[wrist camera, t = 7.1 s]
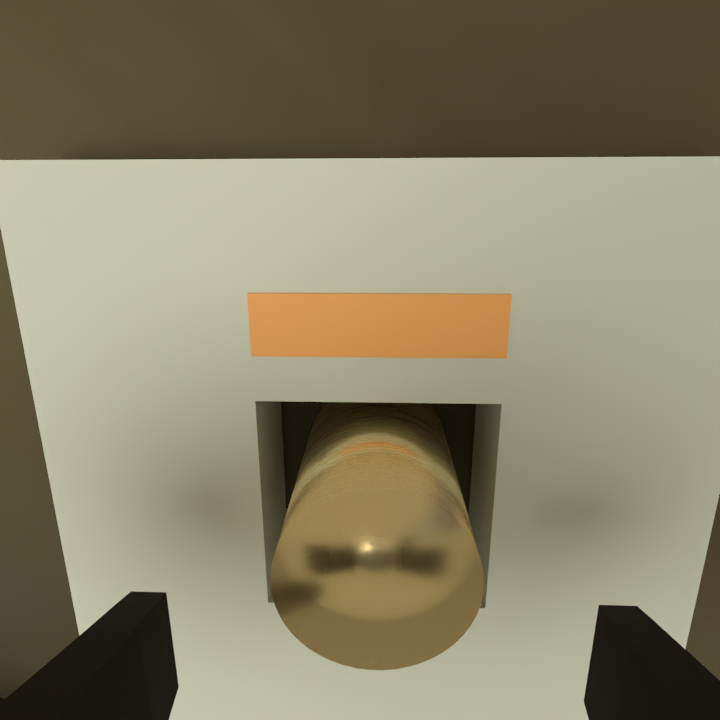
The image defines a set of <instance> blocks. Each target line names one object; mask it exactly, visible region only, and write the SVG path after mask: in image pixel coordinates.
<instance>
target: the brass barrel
mask: <svg viewBox="0 0 720 720" xmlns="http://www.w3.org/2000/svg"><path fill="white" fill-rule="evenodd" d="M270 583H271V592H272V597H273V601H274V604H275V607H276V609H277V612H278V614H279V616H280V617H281V619H282V621H283V623H284V624H285V625H286V627H287V628H288V629H289V631H290V632H291V633H292V634H293V635H294V636H295V637H296V638H297V639H298V640H299V641H300V642H301V643H302V644H304V645H305V646H306V647H307V648H309V649H310V650H312V651H313V652H315V653H317V654H318V655H320V656H322V657H324V658H326V659H328V660H330V661H333V662H336V663H339V664H342V665H345V666H349V667H353V668H358V669H366V670H392V669H400V668H405V667H410V666H413V665H416V664H420V663H423V662H425V661H427V660H430V659H432V658H434V657H436V656H437V655H439V654H441V653H443V652H444V651H446V650H447V649H448V648H450V647H451V646H452V645H454V644H455V643H456V642H457V641H458V640H459V639H460V638H461V637H462V636H463V635H464V634H465V633H466V631H467V630H468V629H469V627H470V626H471V624H472V623H473V621H474V619H475V618H476V616H477V613H478V611H479V608H480V606H481V602H482V598H483V592H484V574H483V567H482V563H481V560H480V556H479V552H478V549H477V545H476V542H475V538H474V535H473V531H472V528H471V524H470V521H469V517H468V514H467V510H466V507H465V503H464V500H463V496H462V493H461V489H460V485H459V482H458V478H457V475H456V471H455V468H454V464H453V461H452V457H451V454H450V450H449V447H448V443H447V440H446V436H445V433H444V429H443V426H442V423H441V421H440V418H439V416H438V414H437V413H436V411H435V409H434V408H433V407H432V406H431V404H430V403H370V402H325V404H324V405H323V406H322V407H321V409H320V410H319V412H318V414H317V415H316V417H315V420H314V422H313V424H312V428H311V431H310V435H309V438H308V442H307V445H306V448H305V452H304V455H303V459H302V462H301V465H300V469H299V472H298V476H297V479H296V483H295V486H294V489H293V493H292V496H291V500H290V503H289V506H288V510H287V513H286V517H285V520H284V523H283V527H282V530H281V534H280V537H279V541H278V544H277V547H276V551H275V554H274V558H273V562H272V566H271V576H270Z"/></svg>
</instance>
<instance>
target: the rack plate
mask: <svg viewBox="0 0 720 720" xmlns="http://www.w3.org/2000/svg"><path fill="white" fill-rule="evenodd" d="M0 227H1V233H2V238H3V243H4V248H5V253H6V258H7V264H8V269H9V274H10V279H11V284H12V290H13V295H14V300H15V305H16V310H17V315H18V321H19V326H20V331H21V336H22V341H23V346H24V352H25V357H26V362H27V367H28V372H29V377H30V383H31V388H32V393H33V398H34V403H35V409H36V414H37V419H38V424H39V429H40V434H41V440H42V445H43V450H44V455H45V460H46V465H47V471H48V476H49V481H50V486H51V491H52V496H53V502H54V507H55V512H56V517H57V522H58V527H59V533H60V538H61V543H62V548H63V553H64V559H65V564H66V569H67V574H68V579H69V584H70V590H71V595H72V600H73V605H74V610H75V615H76V621H77V626H78V631H79V636H80V635H81V634H82V633H83V632H84V631H86V630H87V629H88V628H89V627H90V626H91V625H92V624H94V623H95V622H96V621H97V620H98V619H99V618H100V617H102V616H103V615H104V614H105V613H106V612H107V611H109V610H110V609H111V608H112V607H113V606H114V605H115V604H117V603H118V602H119V601H120V600H121V599H123V598H124V597H125V596H126V595H127V594H129V593H130V592H131V591H135V592H166V594H167V602H168V610H169V617H170V625H171V632H172V640H173V648H174V655H175V663H176V670H177V678H178V685H179V687H178V691H177V694H176V697H175V700H174V704H173V707H172V710H171V714H170V717H169V720H589V718H588V715H587V711H586V708H585V704H584V696H585V690H586V683H587V677H588V671H589V664H590V658H591V652H592V645H593V639H594V633H595V626H596V620H597V613H598V607H599V605H621V606H638V607H639V608H640V609H641V610H642V611H643V612H645V613H646V614H647V615H648V616H649V617H650V618H651V619H652V620H654V621H655V622H656V623H657V624H658V625H659V626H660V627H661V628H662V629H663V630H665V631H666V632H667V633H668V634H669V635H670V636H671V637H672V638H673V639H674V640H676V641H677V642H678V643H679V644H680V645H681V646H682V647H683V648H684V649H685V648H686V644H687V639H688V635H689V630H690V626H691V621H692V617H693V612H694V607H695V603H696V598H697V594H698V589H699V585H700V580H701V576H702V571H703V567H704V562H705V557H706V553H707V548H708V544H709V539H710V535H711V530H712V526H713V521H714V517H715V512H716V507H717V503H718V498H719V494H720V156H712V157H521V158H329V159H138V160H0ZM281 401H285V402H370V403H455V404H476V409H475V424H474V439H473V455H472V470H471V485H470V500H469V516H468V517H469V521H470V524H471V528H472V531H473V535H474V538H475V542H476V545H477V549H478V552H479V556H480V560H481V563H482V567H483V574H484V592H483V598H482V602H481V606H480V608H479V611H478V613H477V616H476V618H475V619H474V621H473V623H472V624H471V626H470V627H469V629H468V630H467V631H466V633H465V634H464V635H463V636H462V637H461V638H460V639H459V640H458V641H457V642H456V643H455V644H454V645H452V646H451V647H450V648H448V649H447V650H446V651H444V652H443V653H441V654H439V655H437V656H436V657H434V658H432V659H430V660H427V661H425V662H423V663H420V664H416V665H413V666H410V667H405V668H400V669H392V670H366V669H358V668H353V667H349V666H345V665H342V664H339V663H336V662H333V661H330V660H328V659H326V658H324V657H322V656H320V655H318V654H317V653H315V652H313V651H312V650H310V649H309V648H307V647H306V646H305V645H304V644H302V643H301V642H300V641H299V640H298V639H297V638H296V637H295V636H294V635H293V634H292V633H291V632H290V631H289V629H288V628H287V627H286V625H285V624H284V623H283V621H282V619H281V617H280V616H279V614H278V612H277V609H276V607H275V604H274V601H273V597H272V592H271V583H270V576H271V566H272V562H273V558H274V554H275V551H276V547H277V544H278V541H279V537H280V534H281V530H282V527H283V523H284V520H285V517H286V513H287V512H286V491H285V471H284V450H283V430H282V409H281Z"/></svg>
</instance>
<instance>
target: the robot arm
mask: <svg viewBox="0 0 720 720" xmlns="http://www.w3.org/2000/svg"><path fill="white" fill-rule="evenodd" d="M178 687H179V685H178V678H177V670H176V663H175V655H174V648H173V640H172V632H171V625H170V617H169V610H168V602H167V594H166V592H135V591H131V592H130V593H129V594H127V595H126V596H125V597H124V598H123V599H121V600H120V601H119V602H118V603H117V604H115V605H114V606H113V607H112V608H111V609H110V610H109V611H107V612H106V613H105V614H104V615H103V616H102V617H100V618H99V619H98V620H97V621H96V622H95V623H94V624H92V625H91V626H90V627H89V628H88V629H87V630H86V631H84V632H83V633H82V634H81V635H80V636H79V637H78V638H76V639H75V640H74V641H73V642H72V643H71V644H70V645H68V646H67V647H66V648H65V649H64V650H63V651H61V652H60V653H59V654H58V655H57V656H56V657H54V658H53V659H52V660H51V661H50V662H49V663H47V664H46V665H45V666H44V667H43V668H42V669H40V670H39V671H38V672H37V673H36V674H34V675H33V676H32V677H31V678H30V679H29V680H27V681H26V682H25V683H24V684H23V685H22V686H20V687H19V688H18V689H17V690H16V691H14V692H13V693H12V694H11V695H10V696H8V697H7V698H6V699H5V700H3V701H2V702H1V703H0V720H169V717H170V714H171V710H172V707H173V704H174V700H175V697H176V694H177V691H178ZM584 704H585V708H586V711H587V715H588V718H589V720H720V681H719V680H718V679H717V678H716V677H715V676H714V675H713V674H712V673H711V672H710V671H708V670H707V669H706V668H705V667H704V666H703V665H702V664H701V663H700V662H699V661H697V660H696V659H695V658H694V657H693V656H692V655H691V654H690V653H689V652H688V651H686V650H685V649H684V648H683V647H682V646H681V645H680V644H679V643H678V642H677V641H676V640H674V639H673V638H672V637H671V636H670V635H669V634H668V633H667V632H666V631H665V630H663V629H662V628H661V627H660V626H659V625H658V624H657V623H656V622H655V621H654V620H652V619H651V618H650V617H649V616H648V615H647V614H646V613H645V612H643V611H642V610H641V609H640V608H639V607H638V606H621V605H599V607H598V613H597V620H596V626H595V633H594V639H593V645H592V652H591V658H590V664H589V671H588V677H587V683H586V690H585V696H584Z"/></svg>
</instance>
